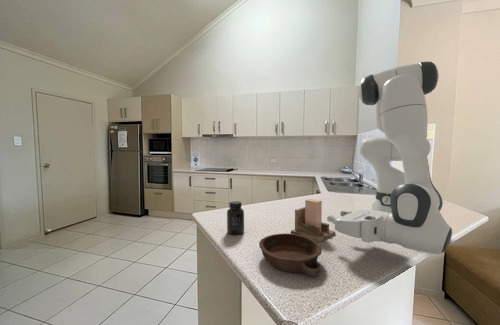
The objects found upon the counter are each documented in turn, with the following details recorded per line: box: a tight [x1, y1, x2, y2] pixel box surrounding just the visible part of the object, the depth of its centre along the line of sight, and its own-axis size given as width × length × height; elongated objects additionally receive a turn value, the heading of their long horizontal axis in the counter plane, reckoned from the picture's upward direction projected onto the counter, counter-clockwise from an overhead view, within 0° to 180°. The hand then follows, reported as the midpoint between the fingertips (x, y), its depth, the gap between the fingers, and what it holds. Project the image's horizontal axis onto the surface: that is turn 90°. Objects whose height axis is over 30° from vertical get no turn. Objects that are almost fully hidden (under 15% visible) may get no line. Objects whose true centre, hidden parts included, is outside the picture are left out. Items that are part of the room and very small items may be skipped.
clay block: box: [304, 198, 323, 232], centre depth 82 cm, size 4×5×12 cm
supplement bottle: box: [226, 200, 245, 236], centre depth 83 cm, size 7×7×12 cm
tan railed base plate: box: [290, 206, 336, 244], centre depth 82 cm, size 12×12×9 cm
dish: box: [258, 233, 323, 277], centre depth 61 cm, size 18×22×5 cm
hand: (335, 215), depth 75 cm, fingers open, 8 cm apart
